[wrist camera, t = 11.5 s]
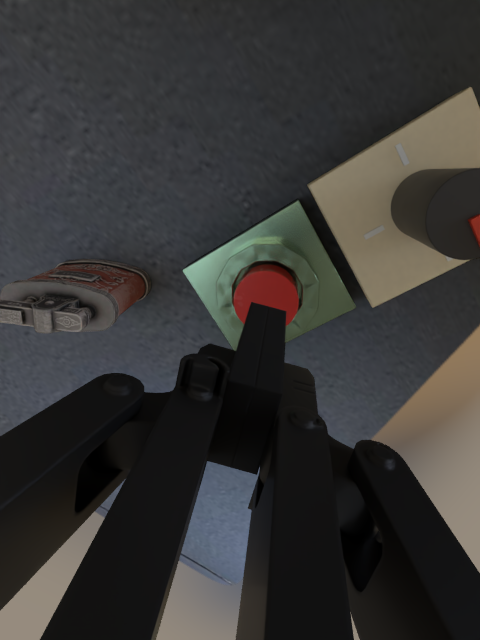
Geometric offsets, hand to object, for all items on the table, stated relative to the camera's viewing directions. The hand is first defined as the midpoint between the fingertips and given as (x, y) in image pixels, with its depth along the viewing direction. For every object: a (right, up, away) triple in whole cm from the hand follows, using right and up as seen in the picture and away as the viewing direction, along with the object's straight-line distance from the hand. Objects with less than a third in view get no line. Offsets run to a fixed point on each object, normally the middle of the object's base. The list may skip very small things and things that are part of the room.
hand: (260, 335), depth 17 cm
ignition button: (+1, +3, +12) cm, 12 cm away
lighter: (-12, +4, +17) cm, 22 cm away
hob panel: (+11, +9, +12) cm, 19 cm away
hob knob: (+11, +8, +10) cm, 17 cm away
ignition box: (+2, +4, +16) cm, 16 cm away
